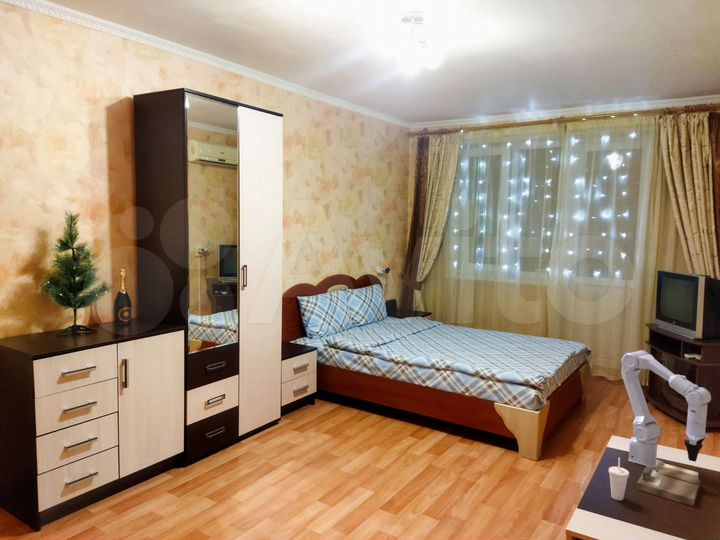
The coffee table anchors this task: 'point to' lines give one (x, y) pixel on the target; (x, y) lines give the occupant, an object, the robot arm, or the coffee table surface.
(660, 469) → the hinged leg
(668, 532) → the coffee table surface
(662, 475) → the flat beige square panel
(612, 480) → the smoothie
